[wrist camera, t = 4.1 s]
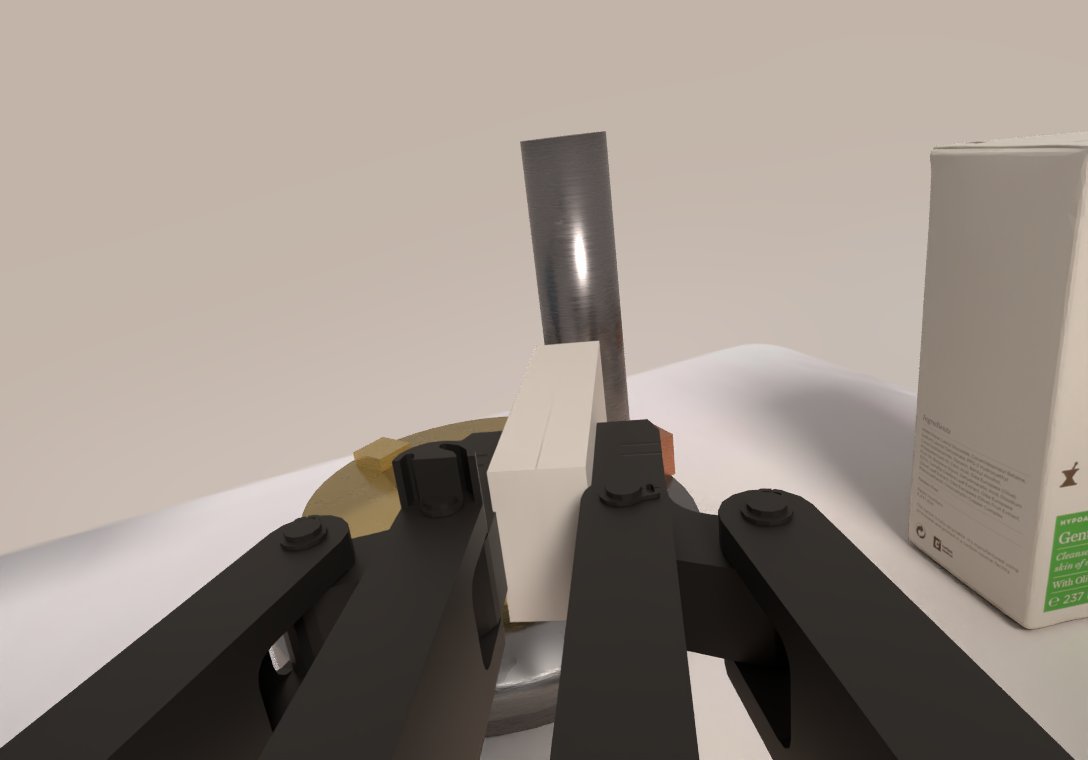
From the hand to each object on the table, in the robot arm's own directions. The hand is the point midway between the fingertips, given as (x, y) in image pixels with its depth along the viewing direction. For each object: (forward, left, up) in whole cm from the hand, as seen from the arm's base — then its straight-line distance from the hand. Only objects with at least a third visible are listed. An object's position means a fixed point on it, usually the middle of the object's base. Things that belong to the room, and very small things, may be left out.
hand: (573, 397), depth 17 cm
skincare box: (+11, +16, -12) cm, 22 cm away
